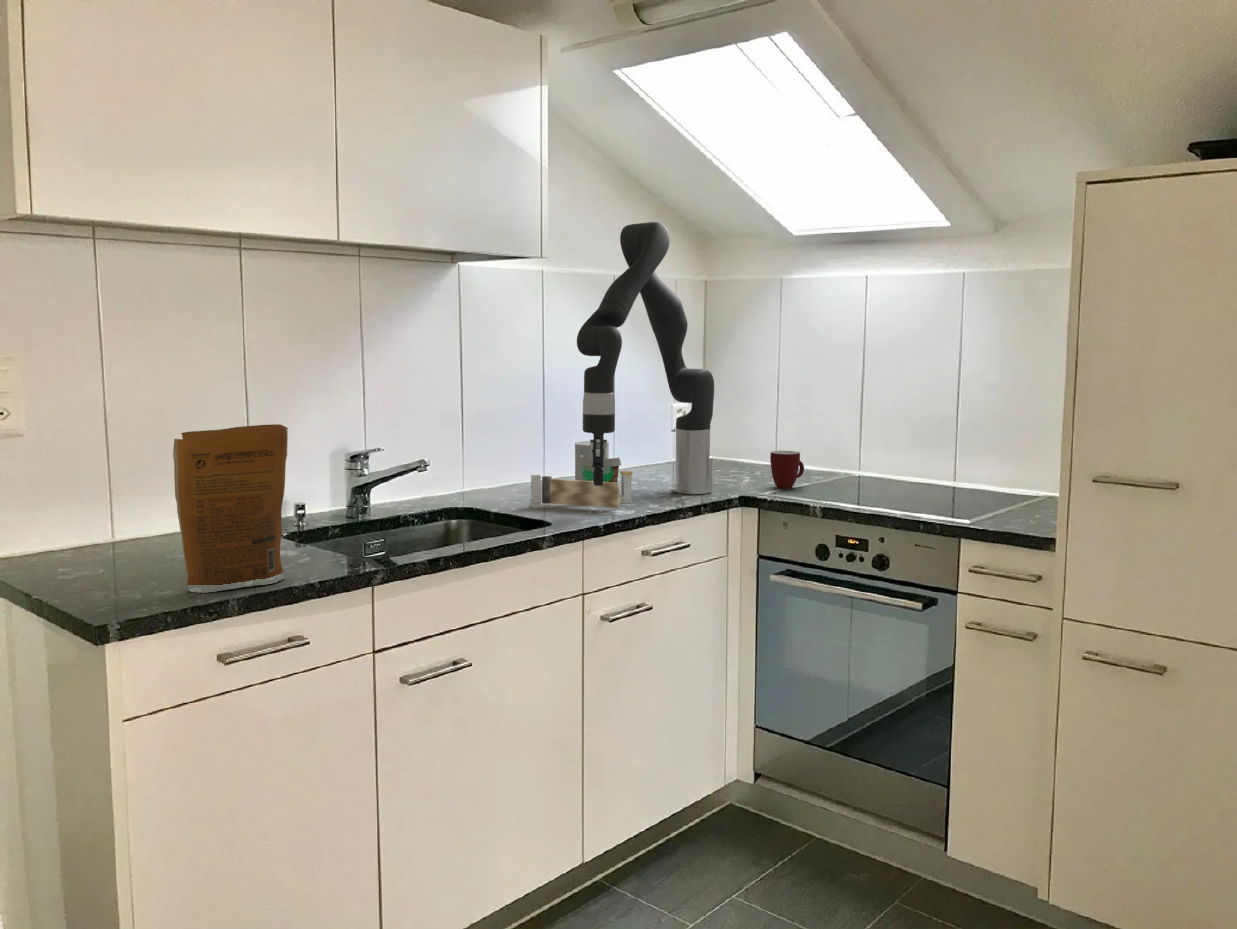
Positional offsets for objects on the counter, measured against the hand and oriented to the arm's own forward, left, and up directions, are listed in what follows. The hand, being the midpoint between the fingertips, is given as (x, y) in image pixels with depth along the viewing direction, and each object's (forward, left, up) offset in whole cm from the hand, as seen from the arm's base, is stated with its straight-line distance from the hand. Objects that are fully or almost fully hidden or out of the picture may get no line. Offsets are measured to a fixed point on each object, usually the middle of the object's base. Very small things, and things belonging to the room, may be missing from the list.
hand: (598, 485), depth 236 cm
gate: (+1, -10, -6) cm, 12 cm away
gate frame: (-1, -16, -7) cm, 17 cm away
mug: (-63, -22, -8) cm, 67 cm away
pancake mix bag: (+79, +40, -8) cm, 89 cm away
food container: (-9, -29, -8) cm, 31 cm away
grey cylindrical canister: (-12, -41, -8) cm, 43 cm away
